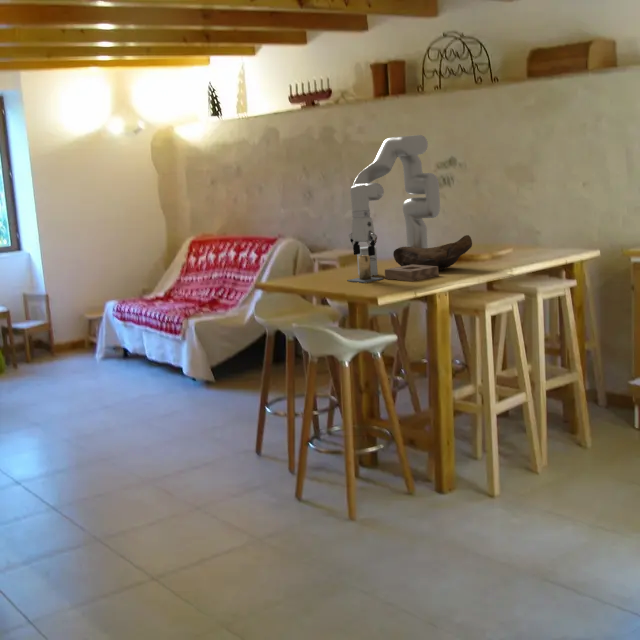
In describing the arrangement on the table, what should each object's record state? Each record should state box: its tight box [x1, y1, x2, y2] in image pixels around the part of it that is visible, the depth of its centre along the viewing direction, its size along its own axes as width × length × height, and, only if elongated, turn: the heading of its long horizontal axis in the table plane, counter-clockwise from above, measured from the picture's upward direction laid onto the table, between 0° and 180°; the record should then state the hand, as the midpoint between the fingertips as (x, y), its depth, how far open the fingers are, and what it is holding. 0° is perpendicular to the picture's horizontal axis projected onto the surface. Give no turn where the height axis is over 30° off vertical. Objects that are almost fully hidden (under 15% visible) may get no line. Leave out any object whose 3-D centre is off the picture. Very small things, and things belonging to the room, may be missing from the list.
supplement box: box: [356, 245, 379, 277], centre depth 366 cm, size 7×7×13 cm
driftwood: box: [392, 234, 473, 271], centre depth 367 cm, size 37×18×15 cm, turn 45°
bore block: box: [384, 265, 439, 282], centre depth 350 cm, size 16×16×4 cm
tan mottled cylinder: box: [357, 255, 372, 280], centre depth 351 cm, size 5×5×10 cm
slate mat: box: [346, 276, 384, 284], centre depth 352 cm, size 11×11×1 cm
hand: (364, 254), depth 350 cm, fingers open, 9 cm apart
